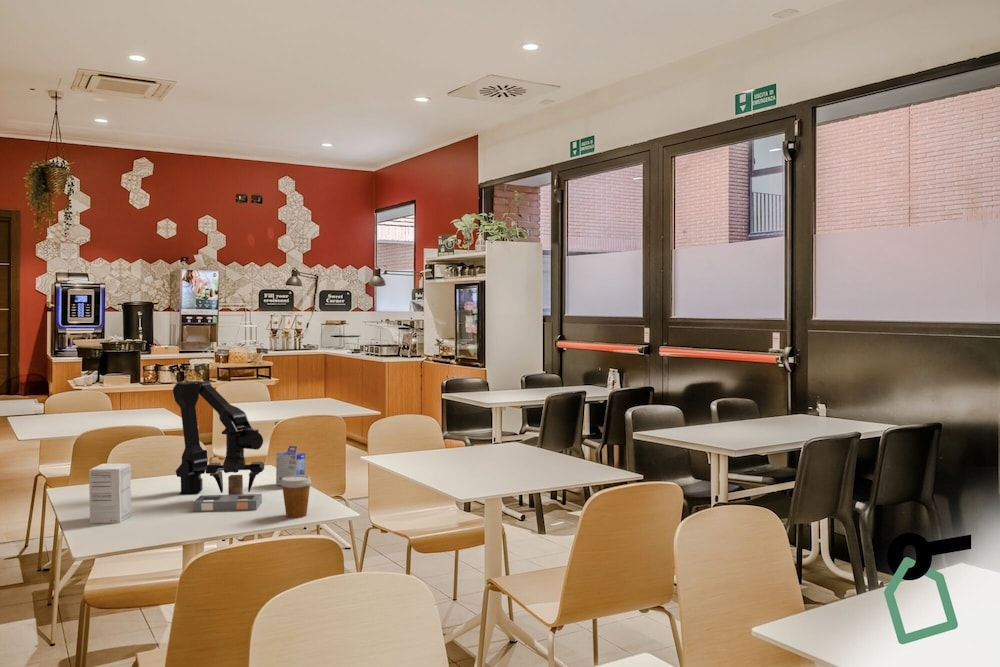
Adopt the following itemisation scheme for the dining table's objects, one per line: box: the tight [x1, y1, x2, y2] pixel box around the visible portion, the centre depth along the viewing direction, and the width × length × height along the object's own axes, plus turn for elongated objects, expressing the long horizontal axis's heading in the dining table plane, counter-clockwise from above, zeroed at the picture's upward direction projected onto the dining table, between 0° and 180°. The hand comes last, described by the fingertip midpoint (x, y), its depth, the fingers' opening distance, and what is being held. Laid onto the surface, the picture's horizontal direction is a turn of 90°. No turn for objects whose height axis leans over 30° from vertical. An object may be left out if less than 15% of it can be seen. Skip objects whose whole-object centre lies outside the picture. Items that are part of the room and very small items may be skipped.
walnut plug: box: [227, 474, 244, 495], centre depth 281 cm, size 4×4×8 cm
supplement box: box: [88, 463, 132, 524], centre depth 253 cm, size 10×9×17 cm
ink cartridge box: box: [275, 445, 306, 487], centre depth 302 cm, size 10×6×14 cm, turn 66°
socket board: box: [192, 493, 263, 512], centre depth 269 cm, size 20×10×3 cm, turn 97°
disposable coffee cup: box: [281, 475, 312, 519], centre depth 257 cm, size 10×10×12 cm
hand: (235, 492), depth 281 cm, fingers open, 9 cm apart
